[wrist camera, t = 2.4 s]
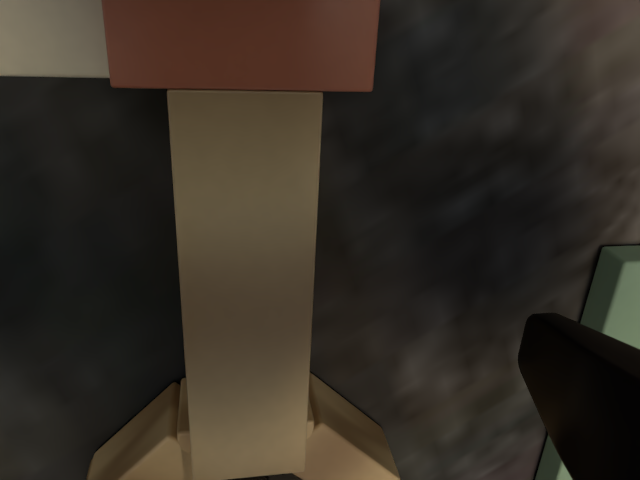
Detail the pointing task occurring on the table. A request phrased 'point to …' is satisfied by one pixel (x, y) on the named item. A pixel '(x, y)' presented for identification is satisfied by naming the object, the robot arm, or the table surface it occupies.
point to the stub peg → (252, 478)
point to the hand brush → (229, 219)
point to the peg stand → (605, 321)
